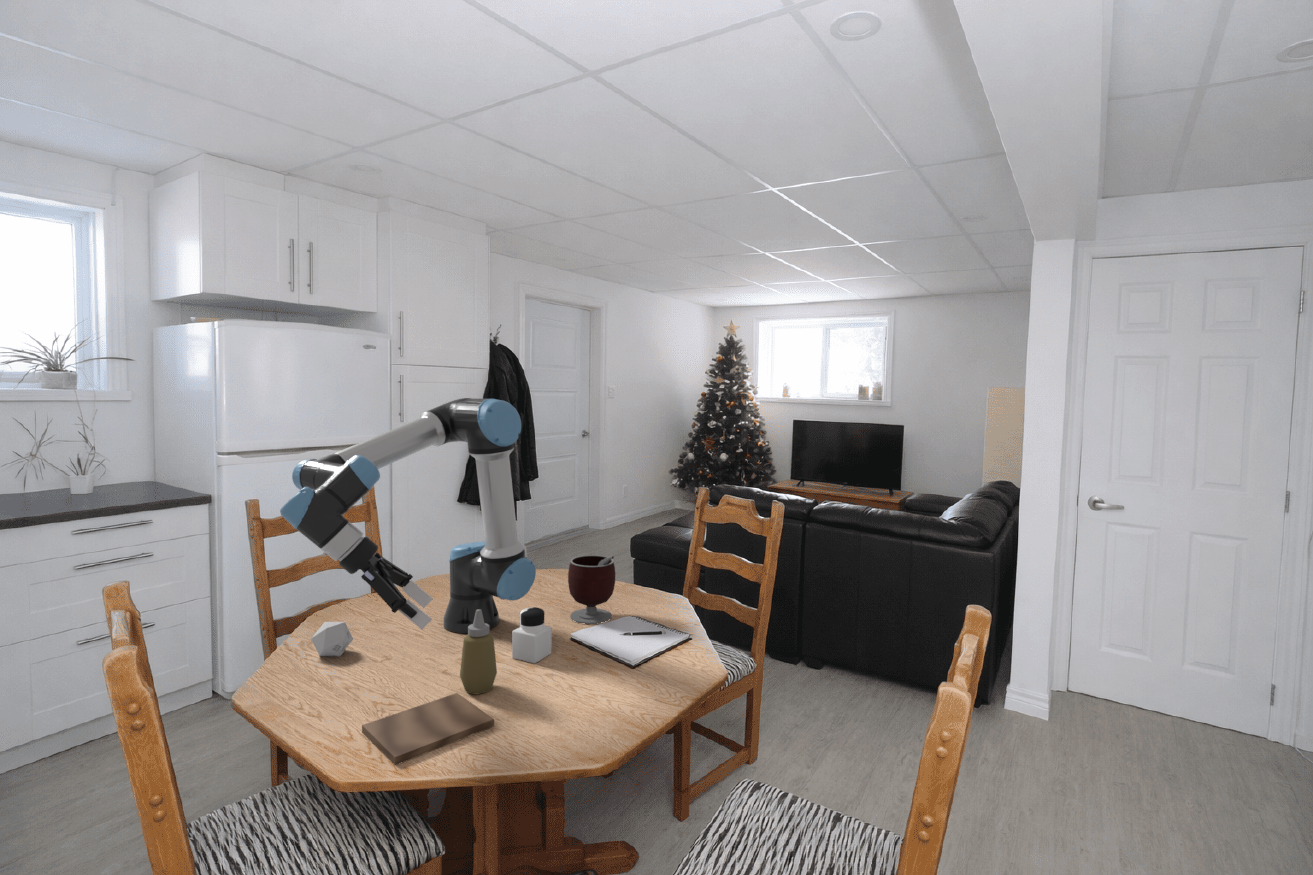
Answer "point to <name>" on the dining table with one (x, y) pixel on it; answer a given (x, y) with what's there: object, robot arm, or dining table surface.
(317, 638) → the die
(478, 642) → the squeeze bottle
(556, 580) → the dining table surface
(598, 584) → the mate gourd
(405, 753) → the walnut board
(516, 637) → the medicine bottle
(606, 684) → the dining table surface
